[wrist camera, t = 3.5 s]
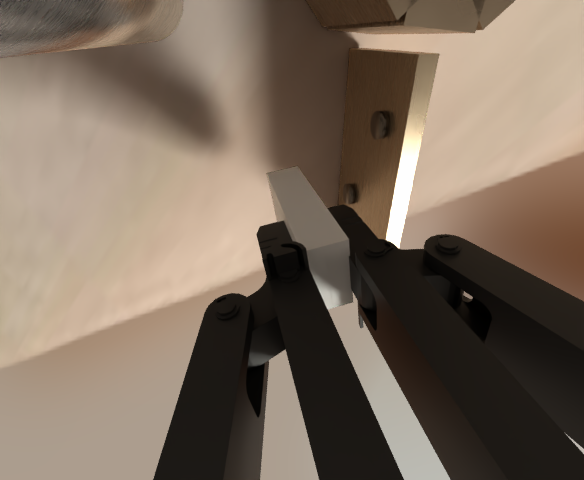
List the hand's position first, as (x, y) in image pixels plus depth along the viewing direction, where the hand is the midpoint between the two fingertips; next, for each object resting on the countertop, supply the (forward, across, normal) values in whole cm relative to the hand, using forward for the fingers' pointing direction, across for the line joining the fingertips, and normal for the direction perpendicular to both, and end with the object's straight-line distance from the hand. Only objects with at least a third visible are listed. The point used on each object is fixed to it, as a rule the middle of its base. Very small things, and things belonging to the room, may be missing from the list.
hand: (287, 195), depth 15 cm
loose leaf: (+4, +5, 0) cm, 6 cm away
